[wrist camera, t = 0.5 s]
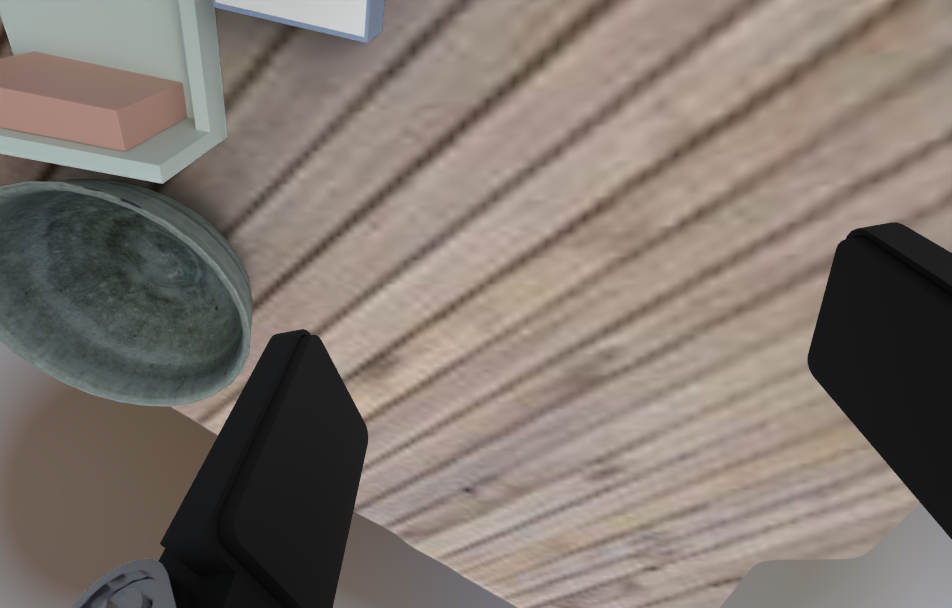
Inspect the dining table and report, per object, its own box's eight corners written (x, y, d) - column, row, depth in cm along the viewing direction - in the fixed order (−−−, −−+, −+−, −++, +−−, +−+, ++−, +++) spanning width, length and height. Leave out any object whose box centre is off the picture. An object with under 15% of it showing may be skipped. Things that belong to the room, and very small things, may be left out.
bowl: (154, 353, 52) (95, 426, 44) (-12, 177, 40) (-135, 233, 32) (325, 310, 48) (295, 381, 40) (200, 104, 36) (122, 145, 28)
